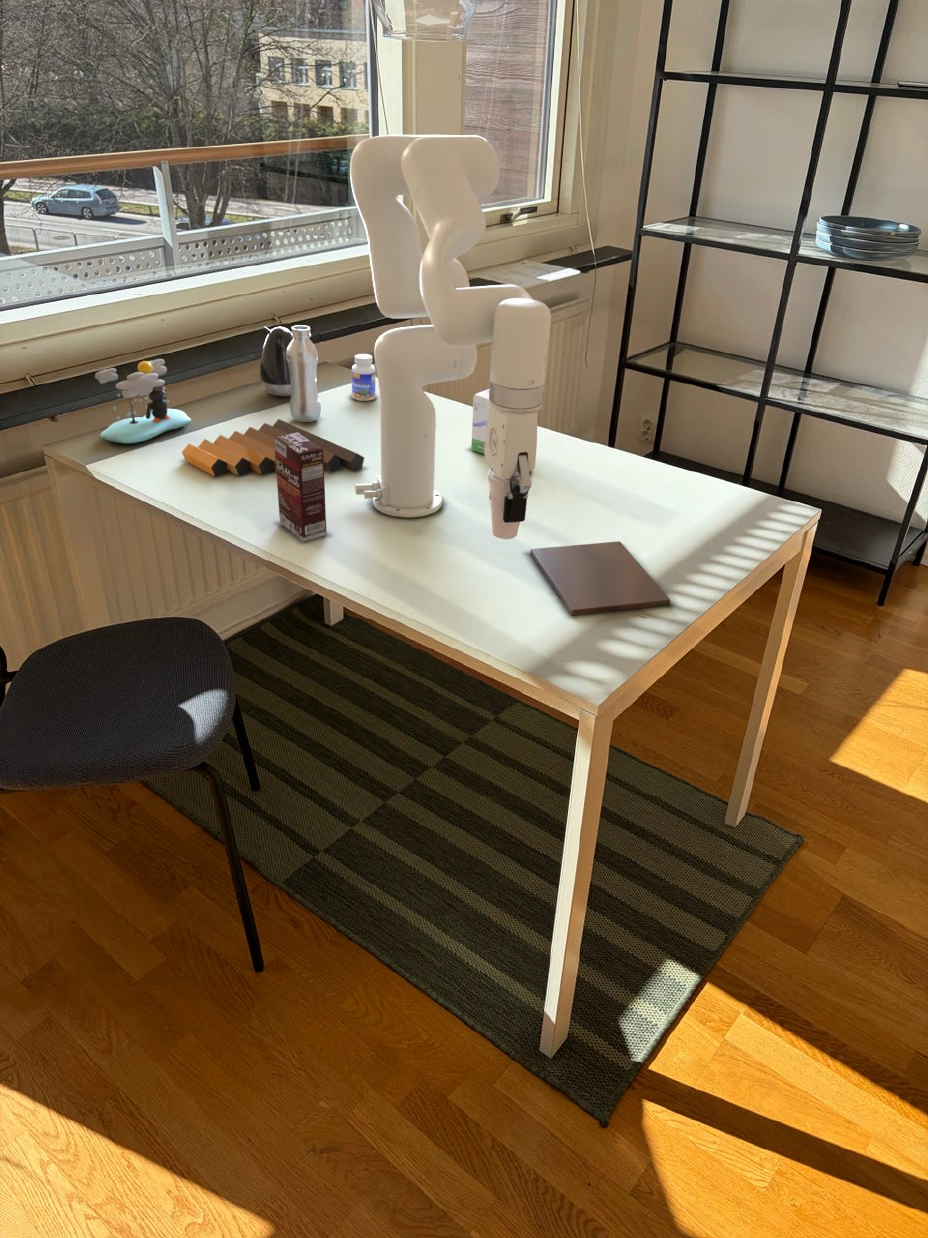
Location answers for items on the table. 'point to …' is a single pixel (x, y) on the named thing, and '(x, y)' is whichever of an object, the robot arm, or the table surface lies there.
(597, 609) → the walnut board
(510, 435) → the robot arm
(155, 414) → the penguin figurine
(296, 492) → the supplement box
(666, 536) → the table surface
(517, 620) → the table surface
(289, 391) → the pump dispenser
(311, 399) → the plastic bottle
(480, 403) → the ink box
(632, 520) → the table surface
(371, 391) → the pill bottle
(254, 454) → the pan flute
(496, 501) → the smoothie
